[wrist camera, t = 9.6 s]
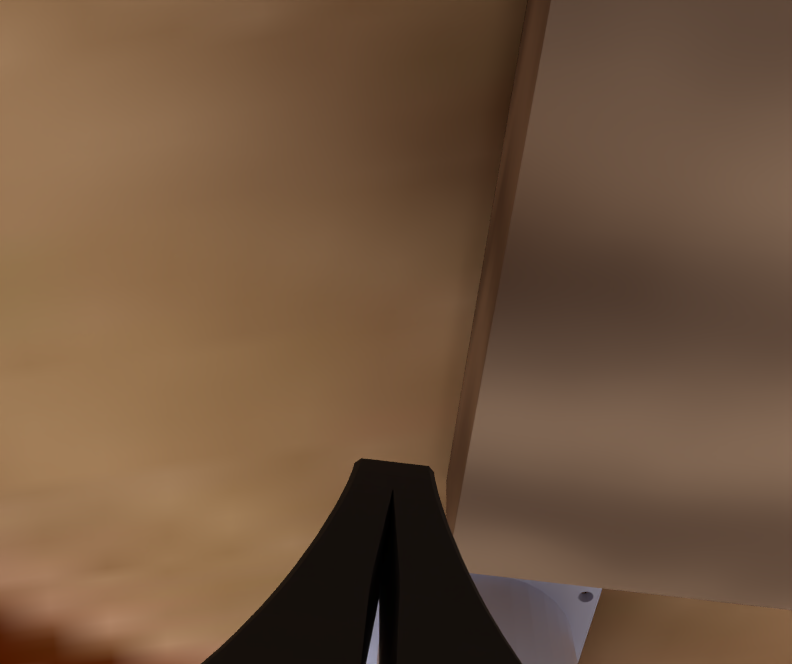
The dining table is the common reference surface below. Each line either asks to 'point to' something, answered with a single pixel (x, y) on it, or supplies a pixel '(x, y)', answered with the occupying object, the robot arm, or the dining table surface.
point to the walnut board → (637, 308)
